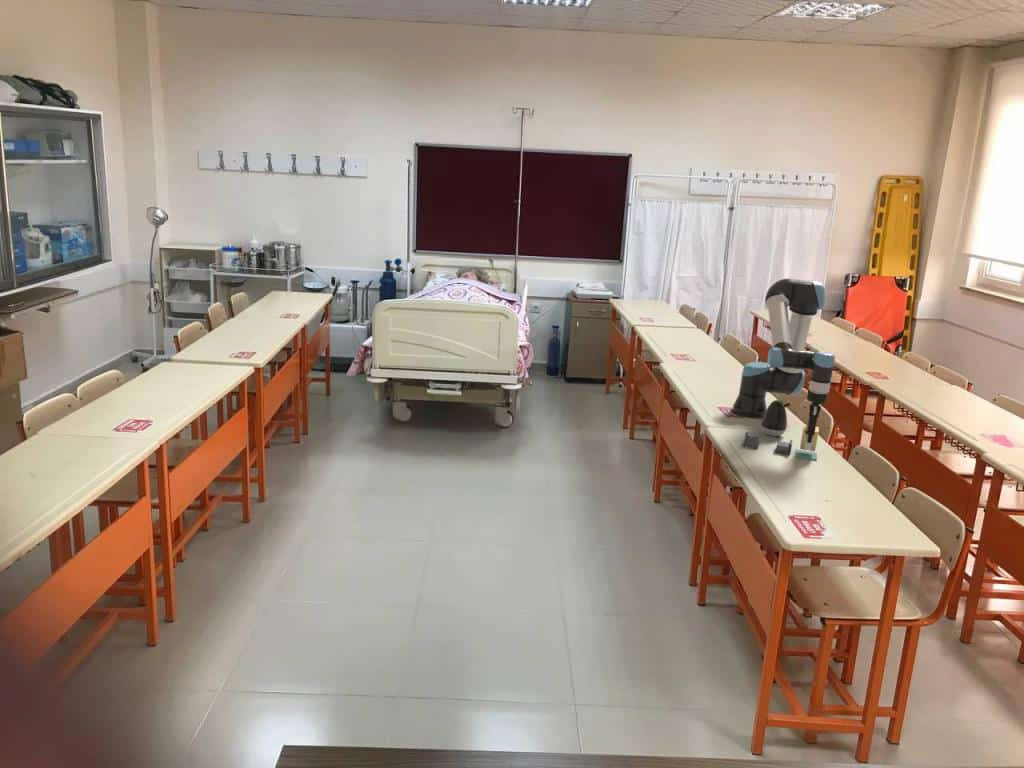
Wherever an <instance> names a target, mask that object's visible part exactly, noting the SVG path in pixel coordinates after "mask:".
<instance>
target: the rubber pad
mask: <svg viewBox="0 0 1024 768" xmlns="http://www.w3.org/2000/svg"><path fill="white" fill-rule="evenodd" d="M794 457H795V458H800V459H806V460H810V461H817V460H818V453H817V452H814V451H809V450H803V449H797V448H796V449H795V456H794Z"/></svg>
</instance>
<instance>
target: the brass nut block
mask: <svg viewBox="0 0 1024 768" xmlns="http://www.w3.org/2000/svg"><path fill="white" fill-rule="evenodd" d="M808 427H809V425H808V424H803V429H802V433H801V440H800V447H799V450H804V446H805V441H806V436H807V434H805V432H808ZM819 429H820V428H819V426H816V428H815V434H814V439H813V444H812V449H811V451H810V450H808V451H809V452H814V453H816V452H815V451H816V447H817V442H818V436H819ZM804 451H805V450H804Z"/></svg>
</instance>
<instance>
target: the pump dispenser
mask: <svg viewBox="0 0 1024 768" xmlns="http://www.w3.org/2000/svg"><path fill="white" fill-rule="evenodd" d="M789 406H791V403H790V402H789V403H788V402H787V403H784V402H783V401H781V400H778V399H776V400H773V401H772V402H770V404H769V405H768V406H767V407H766V408H767V410H766V412H765V414H764V417H762V419H761V427H762V430H763V433H764V434H766V435H767V436H770V437H774V438H775V437H780V436H781V435H783V434H784V433H785V431H786V430H787V426H788V415H787V410H786V408H787V407H789Z"/></svg>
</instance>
